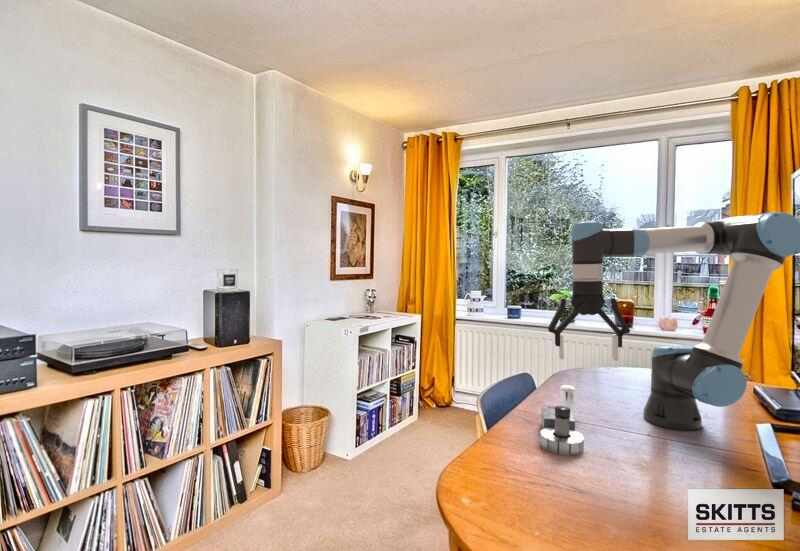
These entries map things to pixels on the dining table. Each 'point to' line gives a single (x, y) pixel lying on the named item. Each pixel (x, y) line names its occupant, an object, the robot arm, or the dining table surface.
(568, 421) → the black capped grinder
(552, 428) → the grey block with disc
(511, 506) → the dining table surface
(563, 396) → the milkshake
